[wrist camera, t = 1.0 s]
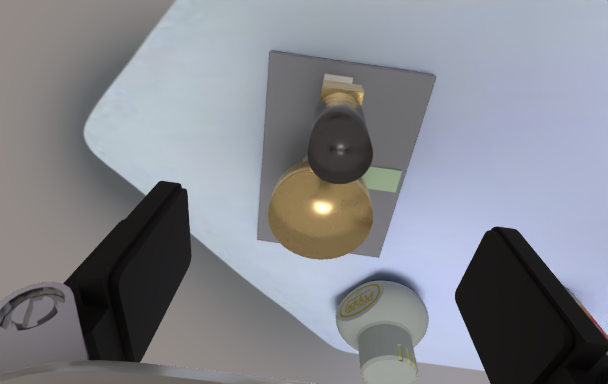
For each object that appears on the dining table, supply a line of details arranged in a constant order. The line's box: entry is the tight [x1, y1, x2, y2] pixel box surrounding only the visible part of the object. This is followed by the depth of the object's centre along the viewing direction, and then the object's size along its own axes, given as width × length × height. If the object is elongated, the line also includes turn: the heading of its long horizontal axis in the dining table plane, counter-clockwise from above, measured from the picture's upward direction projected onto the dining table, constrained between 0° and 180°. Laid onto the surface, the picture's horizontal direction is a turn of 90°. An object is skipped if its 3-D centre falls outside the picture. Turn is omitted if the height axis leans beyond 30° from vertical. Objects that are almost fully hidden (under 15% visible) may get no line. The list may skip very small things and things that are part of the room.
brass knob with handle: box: [268, 79, 373, 259], centre depth 22 cm, size 8×14×8 cm, turn 173°
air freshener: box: [336, 281, 429, 384], centre depth 39 cm, size 11×8×10 cm
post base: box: [257, 51, 436, 258], centre depth 31 cm, size 14×20×7 cm
